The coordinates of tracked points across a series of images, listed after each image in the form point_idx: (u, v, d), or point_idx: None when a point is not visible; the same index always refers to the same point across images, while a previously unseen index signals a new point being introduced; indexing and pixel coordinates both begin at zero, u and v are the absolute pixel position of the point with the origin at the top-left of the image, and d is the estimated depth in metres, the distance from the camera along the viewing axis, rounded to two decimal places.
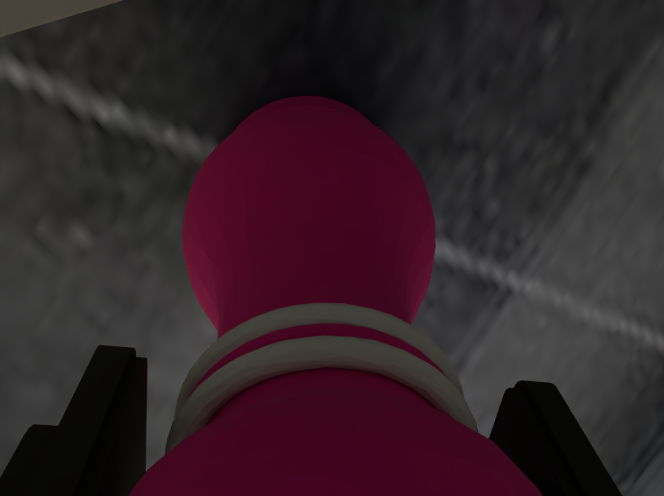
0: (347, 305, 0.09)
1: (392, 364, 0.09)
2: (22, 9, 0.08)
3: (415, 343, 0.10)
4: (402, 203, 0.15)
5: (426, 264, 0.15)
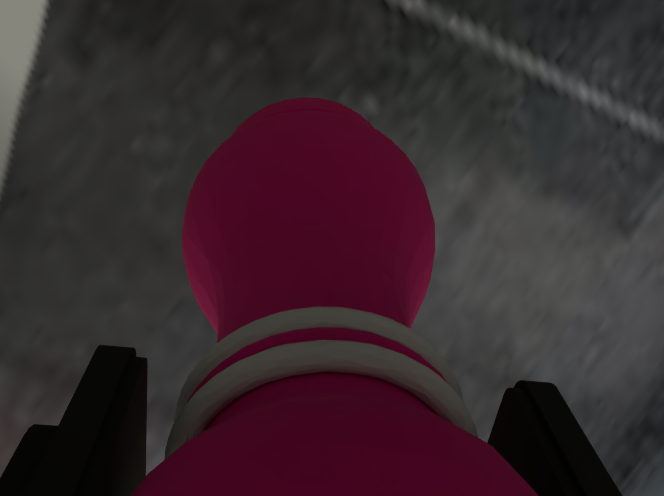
0: (346, 309, 0.09)
1: (391, 368, 0.09)
2: None
3: (414, 347, 0.10)
4: (402, 206, 0.15)
5: (426, 266, 0.15)
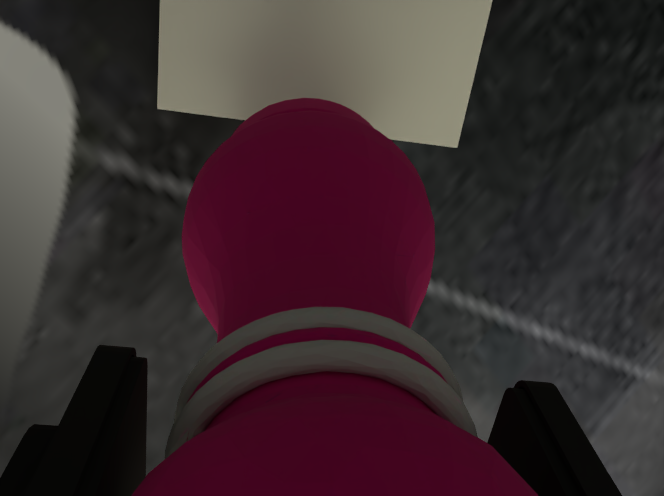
0: (346, 309, 0.09)
1: (391, 368, 0.09)
2: None
3: (414, 347, 0.10)
4: (401, 206, 0.15)
5: (425, 266, 0.15)
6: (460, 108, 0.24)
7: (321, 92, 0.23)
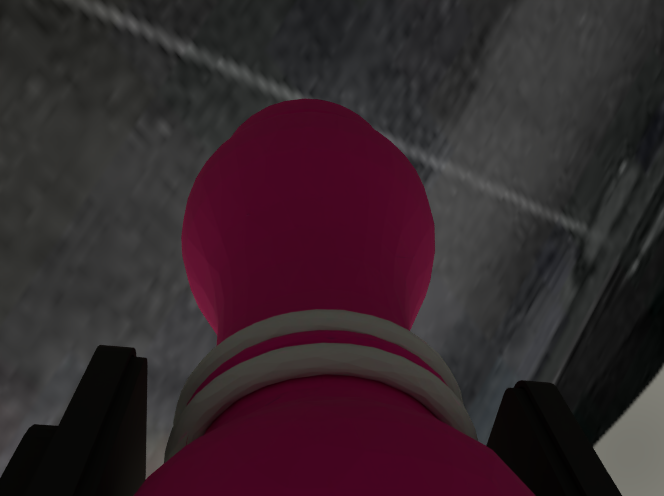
0: (346, 311, 0.09)
1: (391, 371, 0.09)
2: None
3: (414, 349, 0.10)
4: (401, 207, 0.15)
5: (425, 268, 0.15)
6: None
7: None
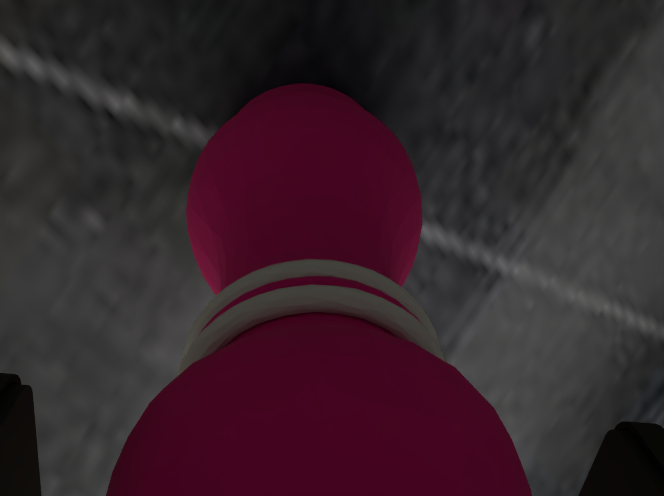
0: (334, 261, 0.11)
1: (372, 309, 0.10)
2: None
3: (394, 294, 0.11)
4: (389, 180, 0.16)
5: (412, 237, 0.17)
6: None
7: None
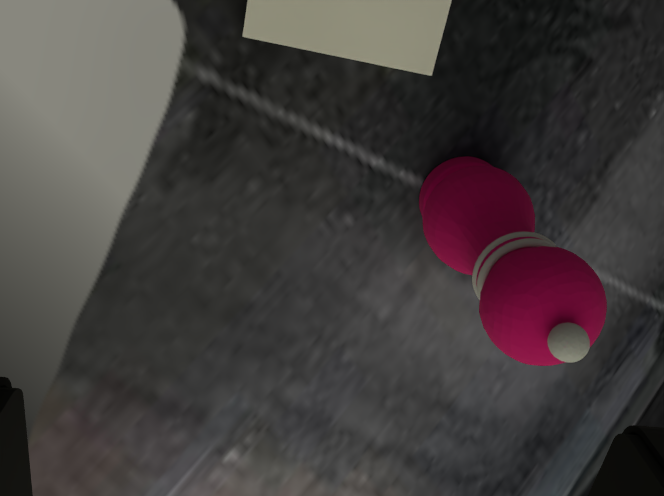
0: (533, 232, 0.32)
1: (550, 246, 0.31)
2: None
3: None
4: (528, 206, 0.38)
5: None
6: (434, 49, 0.38)
7: (347, 33, 0.37)
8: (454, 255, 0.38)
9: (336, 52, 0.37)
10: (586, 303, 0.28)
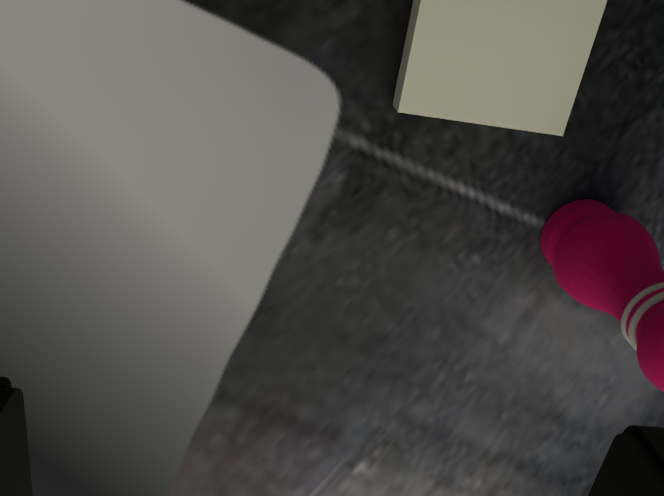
0: None
1: None
2: None
3: None
4: (656, 249, 0.42)
5: None
6: (566, 113, 0.42)
7: (490, 103, 0.42)
8: (591, 295, 0.42)
9: (479, 120, 0.42)
10: None
